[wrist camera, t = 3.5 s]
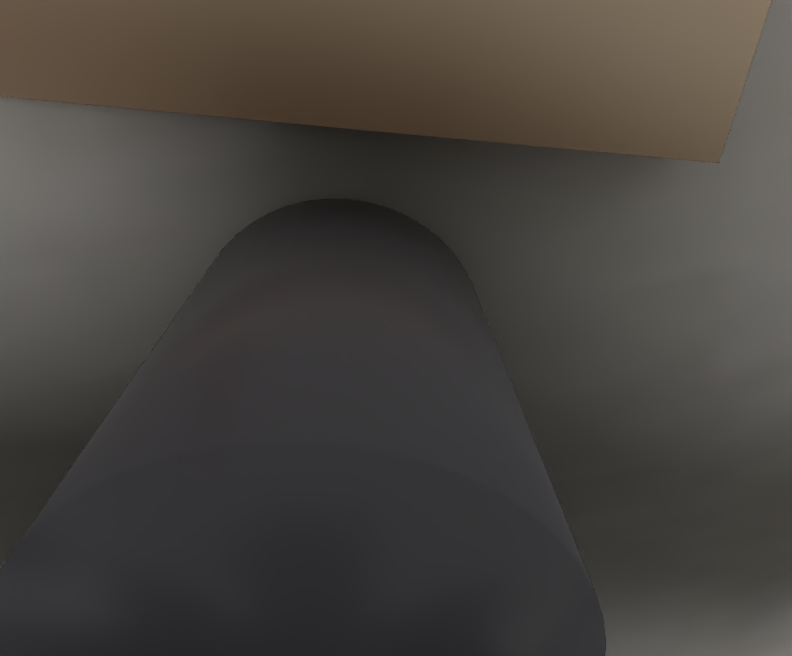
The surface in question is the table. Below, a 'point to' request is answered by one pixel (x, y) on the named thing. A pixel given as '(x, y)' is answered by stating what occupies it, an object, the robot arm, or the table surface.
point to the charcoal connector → (310, 472)
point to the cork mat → (405, 65)
